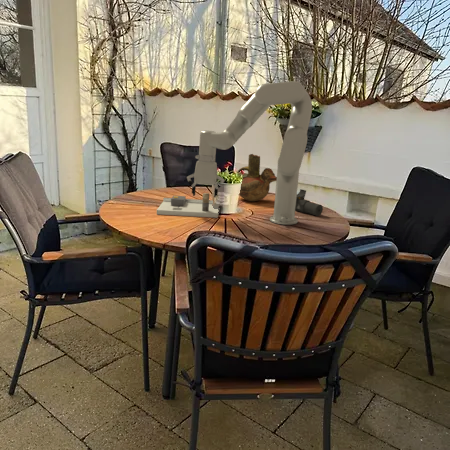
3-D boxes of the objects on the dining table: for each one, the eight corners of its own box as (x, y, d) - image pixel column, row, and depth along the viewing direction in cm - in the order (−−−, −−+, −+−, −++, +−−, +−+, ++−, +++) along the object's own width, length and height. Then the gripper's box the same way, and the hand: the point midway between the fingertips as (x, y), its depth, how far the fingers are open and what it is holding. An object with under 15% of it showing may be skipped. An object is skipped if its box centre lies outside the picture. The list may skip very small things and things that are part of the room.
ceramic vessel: (269, 207, 217) (273, 158, 210) (225, 199, 229) (227, 153, 222) (281, 201, 232) (285, 156, 225) (239, 195, 244) (242, 151, 237)
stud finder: (183, 205, 201) (183, 199, 201) (170, 205, 202) (171, 198, 201) (185, 202, 209) (185, 195, 208) (173, 201, 209) (173, 195, 208)
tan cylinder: (208, 211, 194) (209, 194, 192) (201, 211, 194) (202, 194, 192) (208, 209, 197) (209, 193, 195) (202, 209, 197) (203, 192, 195)
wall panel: (217, 217, 192) (218, 210, 191) (156, 214, 193) (156, 206, 192) (219, 205, 215) (220, 198, 214) (165, 202, 216) (165, 195, 215)
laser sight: (311, 217, 202) (314, 197, 199) (278, 207, 218) (279, 188, 216) (324, 215, 208) (327, 195, 205) (290, 205, 224) (292, 187, 222)
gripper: (186, 158, 186) (184, 196, 190) (225, 161, 185) (223, 199, 190) (188, 156, 193) (186, 193, 197) (226, 159, 193) (223, 196, 197)
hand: (204, 196), depth 194 cm, fingers open, 9 cm apart
